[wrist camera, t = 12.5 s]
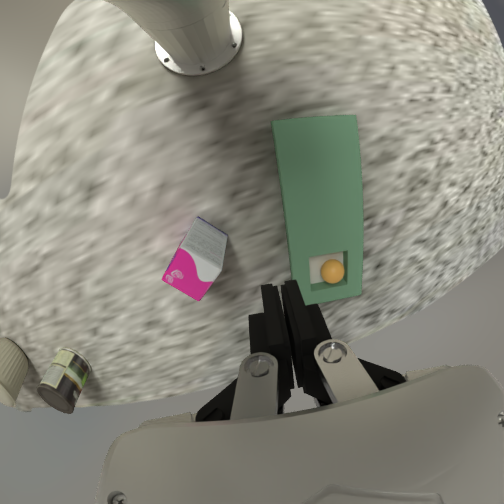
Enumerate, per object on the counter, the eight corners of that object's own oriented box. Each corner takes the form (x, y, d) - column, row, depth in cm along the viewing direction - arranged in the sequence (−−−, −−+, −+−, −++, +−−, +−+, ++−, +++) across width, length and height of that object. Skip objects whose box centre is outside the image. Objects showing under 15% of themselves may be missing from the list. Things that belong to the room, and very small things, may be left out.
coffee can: (93, 361, 54) (74, 404, 41) (88, 379, 57) (72, 418, 45) (59, 340, 51) (35, 380, 39) (57, 360, 55) (37, 397, 42)
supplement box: (196, 214, 40) (181, 244, 30) (228, 234, 42) (225, 270, 32) (178, 243, 42) (160, 281, 32) (209, 262, 44) (201, 304, 34)
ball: (328, 286, 41) (319, 285, 45) (350, 280, 41) (340, 279, 45) (323, 261, 41) (315, 262, 45) (345, 256, 41) (336, 257, 45)
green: (270, 121, 35) (272, 120, 33) (349, 115, 35) (355, 114, 32) (293, 299, 48) (296, 307, 45) (356, 287, 47) (361, 294, 45)
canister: (30, 344, 53) (-3, 396, 34) (41, 379, 60) (17, 426, 40) (-9, 319, 49) (-43, 362, 30) (3, 356, 56) (-22, 397, 37)
